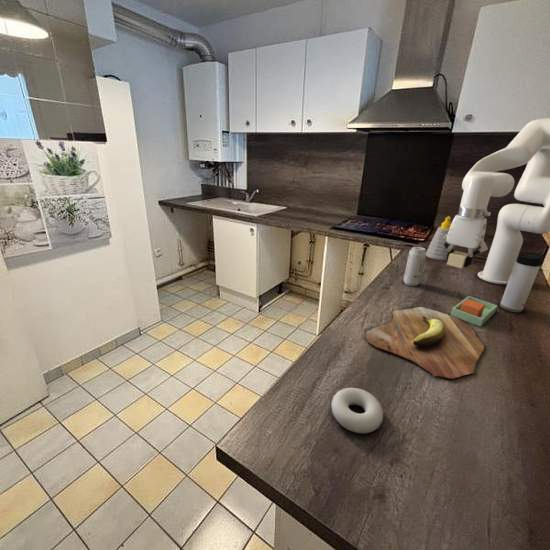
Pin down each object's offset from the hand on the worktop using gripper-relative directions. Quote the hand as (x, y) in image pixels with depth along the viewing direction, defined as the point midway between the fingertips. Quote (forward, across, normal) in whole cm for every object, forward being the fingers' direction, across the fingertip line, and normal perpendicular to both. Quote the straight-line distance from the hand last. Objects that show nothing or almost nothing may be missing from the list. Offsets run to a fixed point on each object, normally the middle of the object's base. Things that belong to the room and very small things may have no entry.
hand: (457, 263), depth 104 cm
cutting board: (+13, -7, +33) cm, 36 cm away
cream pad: (+1, 0, 0) cm, 1 cm away
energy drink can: (+13, +14, +1) cm, 19 cm away
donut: (+12, -11, +73) cm, 74 cm away
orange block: (+12, -11, +11) cm, 19 cm away
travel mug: (+13, -18, -7) cm, 23 cm away
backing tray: (+13, -11, +8) cm, 18 cm away
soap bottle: (+14, +23, -44) cm, 52 cm away
